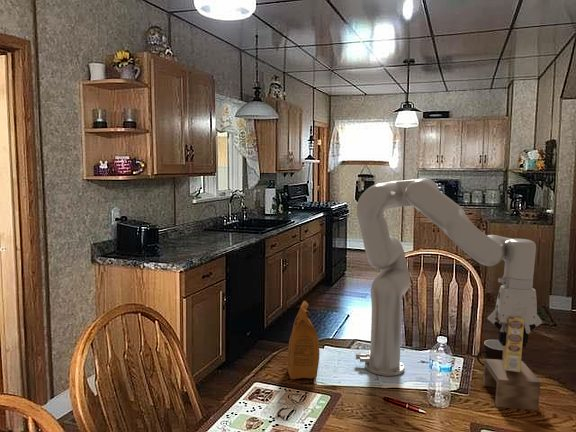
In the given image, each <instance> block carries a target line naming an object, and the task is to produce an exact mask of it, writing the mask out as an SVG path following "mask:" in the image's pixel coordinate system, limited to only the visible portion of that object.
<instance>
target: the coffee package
mask: <svg viewBox="0 0 576 432" xmlns="http://www.w3.org/2000/svg"><path fill="white" fill-rule="evenodd" d="M308 308H309V303H308V302H307V301H306V300H303V301H302V304H301V305H300V308H299V310H298V312H297V314H296V317H295V318H294V320H293V321H294V322H293V327H292V330H291V333H290V336H289V341H288V348H287V359H286V360H287V363H286V364H287V365H286V366H287V367H286V369H287V373H288V375H289V378H290V379H291V380H297V379H314V378H315V379H316V378H317V376H318V370H319V364H320V343H319V337H318V333H317V330H316V329H315V326H314V324H313V323H312V322H311V320H310V318H309V316H311V313H310V311H308V310H307V309H308Z"/></svg>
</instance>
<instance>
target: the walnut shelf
mask: <svg viewBox="0 0 576 432" xmlns="http://www.w3.org/2000/svg"><path fill="white" fill-rule="evenodd" d="M483 362H484V363H483V364H484V366H483V374H482V375H483V377H482V385H483V387H494V388H495V402H494V405H495V407H497V408H508V409H522V410H534V411H535V410H536V411H537V410H539V405H540V395H541V393H540V392H541V383H542V382H541V381H540V380H539V378H538V377H537V376H536V375H535V374H534V373H533V371H532V370H531V369H530V368H529V367H528V366H527V364H526V363H525V362H524V361H523V360H521V369H520V372H515V371H507V370H505V367H504V363H503V360H498V359H485V358H484V360H483Z"/></svg>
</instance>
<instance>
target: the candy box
mask: <svg viewBox="0 0 576 432" xmlns="http://www.w3.org/2000/svg"><path fill="white" fill-rule="evenodd" d="M523 331H524V318H519V317H510V318H509V320H508V324H507V327H506V329H505V332H506V345H505V346H503V363H504V367H505V370H507V371H515V372H520V369H521V361H522V354H523V346H522V344H523Z"/></svg>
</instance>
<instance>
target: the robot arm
mask: <svg viewBox="0 0 576 432" xmlns="http://www.w3.org/2000/svg"><path fill="white" fill-rule="evenodd" d="M439 189H440V188H439V186H438V184H437V183H436V182H435V181H434V180H433V179H431V178H425V177H423V178H422V177H421V178H416V179H406V180H405V179H404V180H393V181H386V182H378V183H375V184H373V185H371V186H369V187H368V188H366V190H364V192H362V194H360V196H359V198H358V201H357V203H356V216H357V221H358V225H359V228H360V233H361V238H362V241H363V246H364V253H365V255H366V259H367V261H368V264H369V265H370V266H371V267H372V268H373V269H376V270H379V272H380V274H378V275H377V276H376V277H375V278H374V280H373V281H372V283H371V286H370V299H371V324H370V325H371V327H370V328H371V329H370V346H369V347H370V348H369V350H368V352H365V353H360V352H357V353H355V360H359V362H360V363H364V366H365V367H364V368H365V369H366V370H367V371H368V372H370V373H372V374H375V375H378V376H384V377H393V376H398V375H401V374H403V373H404V371H405V365H404V364H405V363H403V362H402V361H401V346H402V345H401V344H402V343H401V342H402V326H403V325H402V322H403V319H402V318H403V312H402V311H403V307H402V297H403V296H404V295H405V293H407V291H409V288H410V286H411V276H410V270H409V267H408V263H407V259H406V253H405V250H404V248H403V245H402V243H401V241H400V240H399V239H397V238H396V237H395V236H393V235H390V233H389V226H388V224H387V221H386V219H385V217H384V211H386V210H388V209H392V208H398V207H400V208H401V207H410V206H411V207H412V208H415V209H416V210H417V211H418V212H419V213H421V214H422V215H423V216H425V217H426V218H427V219H428V220H430V221H431V222H432V223H434V225H436V226H437V227H439V229H441V230H442V231H443V233H444V234H445V235H446V236H447V237H448V238H449V239H450V240H451V241H452V242H453V243H454V244H455V245H456V246H457V247H458V248H459V249H460V250H462V251H463V252H464V253H465V254H467V255H468V256H469V257H470V258H471V259H473V260H474V261H476V262H477V263H479V264H481V265H483V266H485V267H493V266H495V265H498V264H499V263H500V262H501V261H504V270H503V275H502V277H498V279H497V282H498V283H499V284H500V283H501V284H502V285H500V287H499V290H498V293H497V296H496V297H497V298H496V302H495V309H494V310H493V311H492V312H491V313H490V315H489V314H488V316H487V320H488V321H489V322H491V324H492V325H494V326H495V327H496V328H497V329H498V338H497V340H499V342H500V343H501V344H502V346H505V345H506V332H505V329H506V327H507V324H508V320H509V318H510V317H519V318H524V331H523V344H522V348H526V346H527V344H528V341H529V334H531V332H532V331H533V330H534V329H535V328H536V327H538V326H540V325H541V324H543V320H542V319H541V317H540V316H539V314H538V306H537V305H538V301H537V290H536V289H535V288H533V286H534V273H535V262H536V253H537V245H536V244H537V243H535V242H534V241H533V240H531V239H525V238H511V237H505V236H502V235H498V234H488V235H487V234H486V233H485V232H483V231H482V230H480V229H479V228H478V227H477V226H476V225H475V224H474V223H472V221H471V220H470V219H469V217H468V216H467V214H466V212H465V210H464V208H463V207H462V206H460V205H459V203H456V202H455V201H454V200H453V199H452V198H450V197H449V196H447V195H446V194H445V193H444V192H442V191H441V190H439ZM496 318H497V319H498V320H497V319H496Z"/></svg>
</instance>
